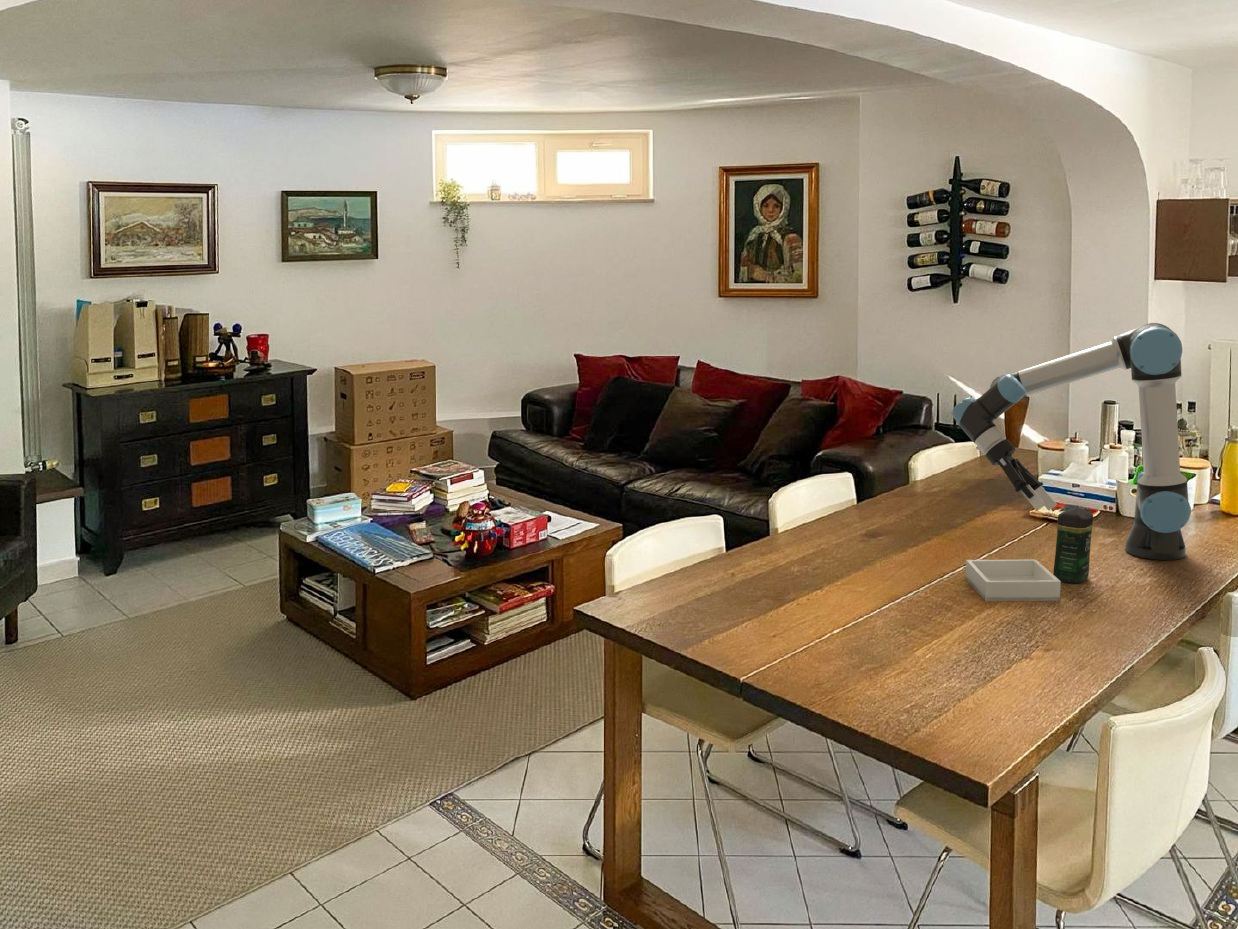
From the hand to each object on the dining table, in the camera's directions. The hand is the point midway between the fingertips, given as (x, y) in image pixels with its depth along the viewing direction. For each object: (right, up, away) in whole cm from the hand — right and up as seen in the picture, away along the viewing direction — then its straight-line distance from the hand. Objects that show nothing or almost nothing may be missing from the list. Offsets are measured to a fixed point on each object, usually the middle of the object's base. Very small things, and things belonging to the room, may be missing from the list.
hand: (1047, 507), depth 286 cm
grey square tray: (-14, -20, -13) cm, 28 cm away
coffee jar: (+4, -19, -6) cm, 20 cm away
